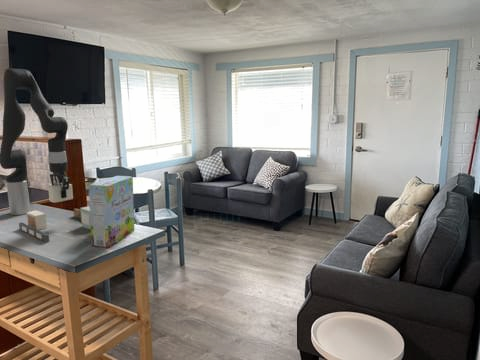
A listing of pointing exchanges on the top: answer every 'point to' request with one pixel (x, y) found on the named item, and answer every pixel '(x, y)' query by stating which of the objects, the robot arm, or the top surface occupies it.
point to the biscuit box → (59, 193)
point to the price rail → (34, 232)
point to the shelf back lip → (77, 213)
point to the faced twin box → (36, 220)
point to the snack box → (111, 210)
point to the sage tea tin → (86, 217)
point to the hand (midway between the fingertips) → (61, 196)
